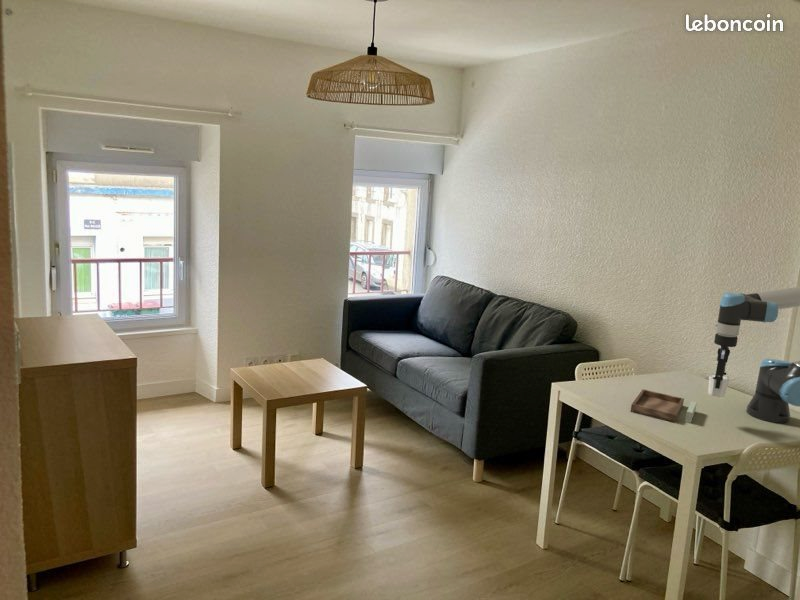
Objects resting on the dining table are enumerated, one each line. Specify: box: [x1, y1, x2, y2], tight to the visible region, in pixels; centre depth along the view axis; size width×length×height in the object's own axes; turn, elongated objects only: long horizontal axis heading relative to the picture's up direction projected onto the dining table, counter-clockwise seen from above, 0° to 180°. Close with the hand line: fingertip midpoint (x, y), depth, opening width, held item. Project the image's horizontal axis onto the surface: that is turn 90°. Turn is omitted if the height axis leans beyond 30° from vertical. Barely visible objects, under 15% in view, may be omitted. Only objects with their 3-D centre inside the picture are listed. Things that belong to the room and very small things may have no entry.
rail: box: [684, 400, 698, 424], centre depth 247 cm, size 2×16×4 cm, turn 150°
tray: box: [630, 388, 685, 423], centre depth 253 cm, size 16×24×3 cm, turn 150°
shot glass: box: [707, 373, 730, 398], centre depth 242 cm, size 7×7×7 cm
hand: (716, 393), depth 243 cm, fingers closed on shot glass, 7 cm apart
